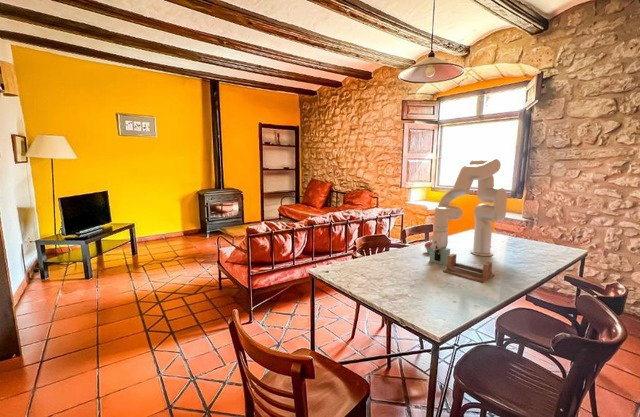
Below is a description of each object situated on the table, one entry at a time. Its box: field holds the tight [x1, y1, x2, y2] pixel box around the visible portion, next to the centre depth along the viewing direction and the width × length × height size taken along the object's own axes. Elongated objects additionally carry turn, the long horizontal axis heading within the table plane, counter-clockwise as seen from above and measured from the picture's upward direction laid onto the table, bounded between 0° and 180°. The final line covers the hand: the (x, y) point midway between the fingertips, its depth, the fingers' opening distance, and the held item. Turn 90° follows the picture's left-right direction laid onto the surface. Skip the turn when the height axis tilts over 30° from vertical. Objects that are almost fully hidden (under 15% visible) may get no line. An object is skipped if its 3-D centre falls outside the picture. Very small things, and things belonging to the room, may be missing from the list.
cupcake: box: [424, 235, 432, 255], centre depth 190 cm, size 9×8×12 cm
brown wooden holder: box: [442, 253, 495, 284], centre depth 154 cm, size 14×20×8 cm
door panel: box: [429, 246, 451, 266], centre depth 172 cm, size 4×10×9 cm, turn 40°
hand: (439, 259), depth 172 cm, fingers open, 4 cm apart
